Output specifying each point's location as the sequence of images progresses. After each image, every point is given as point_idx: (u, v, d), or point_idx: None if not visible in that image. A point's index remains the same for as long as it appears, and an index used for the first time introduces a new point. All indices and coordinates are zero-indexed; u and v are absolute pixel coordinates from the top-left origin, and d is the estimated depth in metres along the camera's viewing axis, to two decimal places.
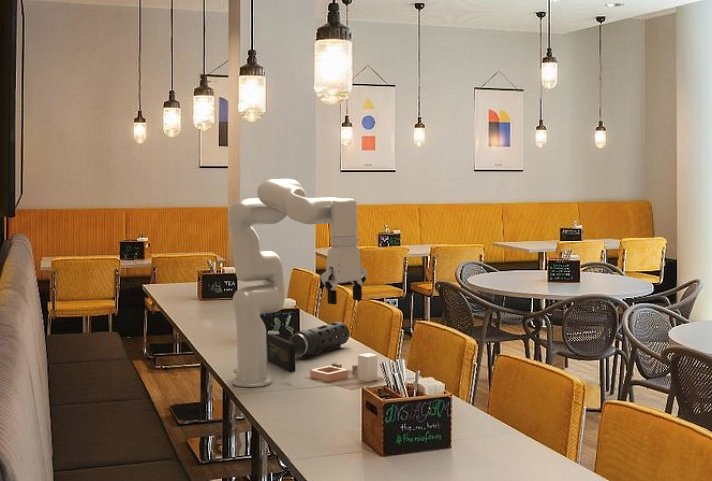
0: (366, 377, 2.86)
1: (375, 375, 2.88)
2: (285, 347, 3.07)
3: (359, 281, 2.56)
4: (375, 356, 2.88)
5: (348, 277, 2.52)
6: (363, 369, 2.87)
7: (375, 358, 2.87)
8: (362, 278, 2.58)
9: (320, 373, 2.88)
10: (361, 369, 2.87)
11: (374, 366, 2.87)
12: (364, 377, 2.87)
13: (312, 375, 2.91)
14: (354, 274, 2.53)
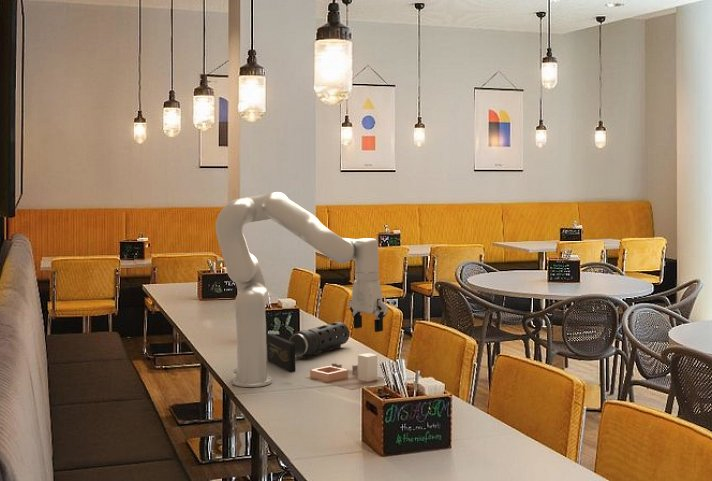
0: (366, 377, 2.86)
1: (375, 375, 2.88)
2: (285, 347, 3.07)
3: None
4: (375, 356, 2.88)
5: None
6: (363, 369, 2.87)
7: (375, 358, 2.87)
8: None
9: (320, 373, 2.88)
10: (361, 369, 2.87)
11: (374, 366, 2.87)
12: (364, 377, 2.87)
13: (312, 375, 2.91)
14: None
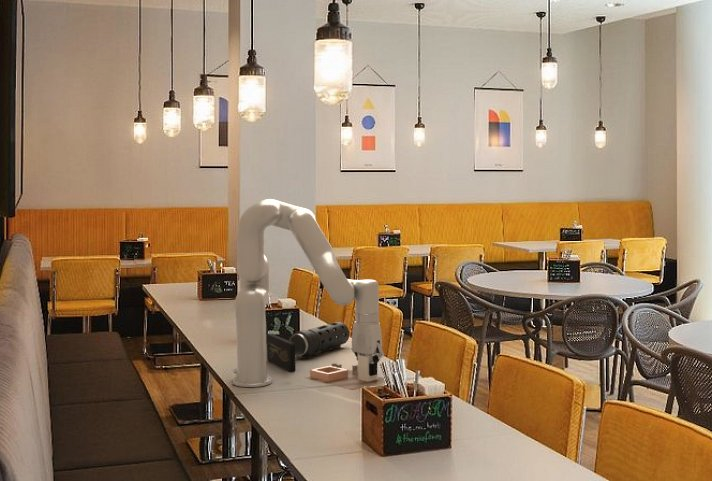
0: (366, 377, 2.86)
1: (375, 375, 2.88)
2: (285, 347, 3.07)
3: None
4: None
5: None
6: (363, 369, 2.87)
7: None
8: None
9: (320, 373, 2.88)
10: (361, 369, 2.87)
11: None
12: (364, 377, 2.87)
13: (312, 375, 2.91)
14: None
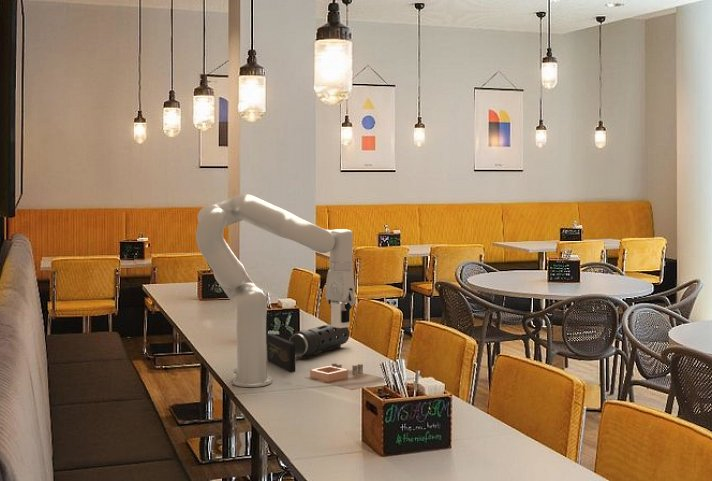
0: (338, 324, 2.94)
1: (347, 322, 2.96)
2: (285, 347, 3.07)
3: None
4: None
5: None
6: (336, 316, 2.94)
7: None
8: None
9: (320, 373, 2.88)
10: (334, 316, 2.95)
11: None
12: (336, 324, 2.94)
13: (312, 375, 2.91)
14: None
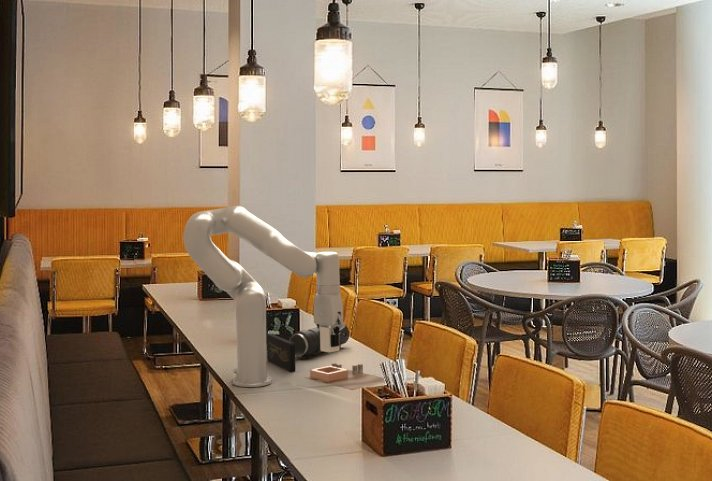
0: (328, 348, 2.89)
1: (337, 346, 2.91)
2: (285, 347, 3.07)
3: None
4: None
5: None
6: (325, 340, 2.89)
7: None
8: None
9: (320, 373, 2.88)
10: (323, 340, 2.90)
11: None
12: (326, 349, 2.89)
13: (312, 375, 2.91)
14: None
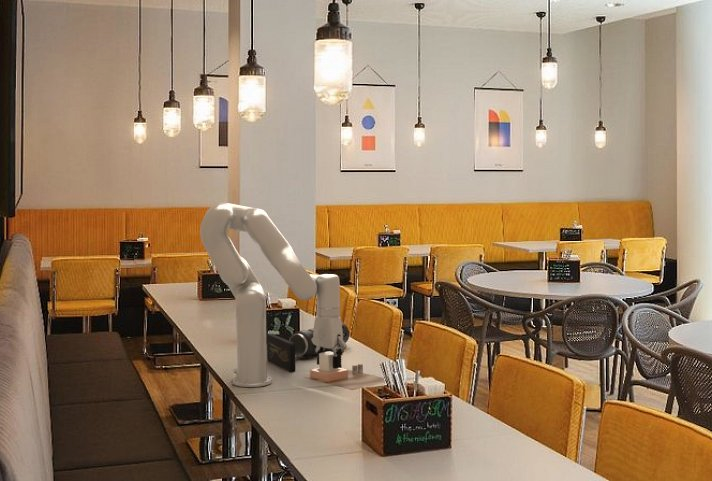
0: None
1: None
2: (285, 347, 3.07)
3: None
4: None
5: None
6: (324, 367, 2.90)
7: None
8: None
9: (320, 373, 2.88)
10: (322, 367, 2.91)
11: None
12: None
13: (312, 375, 2.91)
14: None
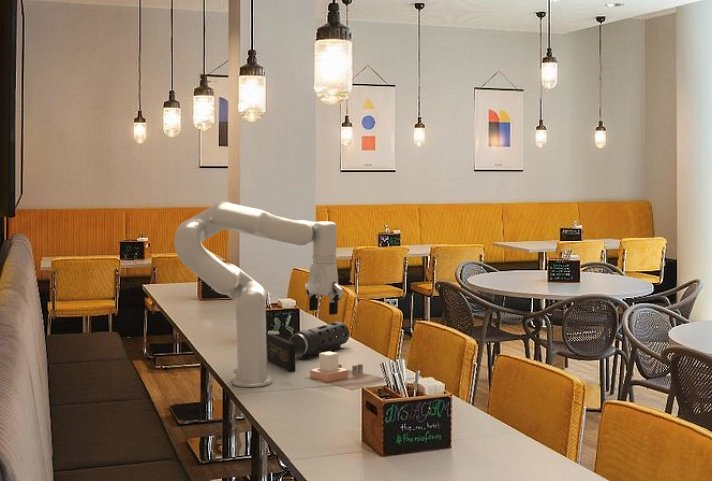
0: None
1: None
2: (285, 347, 3.07)
3: None
4: (336, 354, 2.91)
5: None
6: (324, 367, 2.90)
7: (336, 356, 2.91)
8: None
9: (320, 373, 2.88)
10: (322, 367, 2.91)
11: (335, 364, 2.91)
12: None
13: (312, 375, 2.91)
14: None
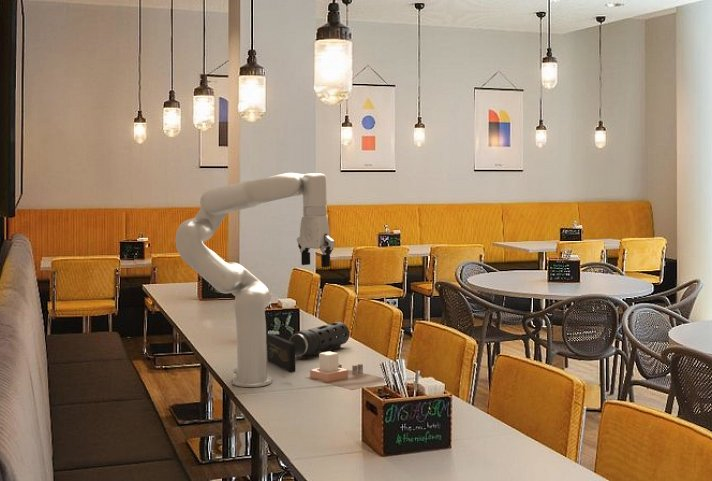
0: None
1: None
2: (285, 347, 3.07)
3: None
4: (336, 354, 2.91)
5: None
6: (324, 367, 2.90)
7: (336, 356, 2.91)
8: None
9: (320, 373, 2.88)
10: (322, 367, 2.91)
11: (335, 364, 2.91)
12: None
13: (312, 375, 2.91)
14: None
